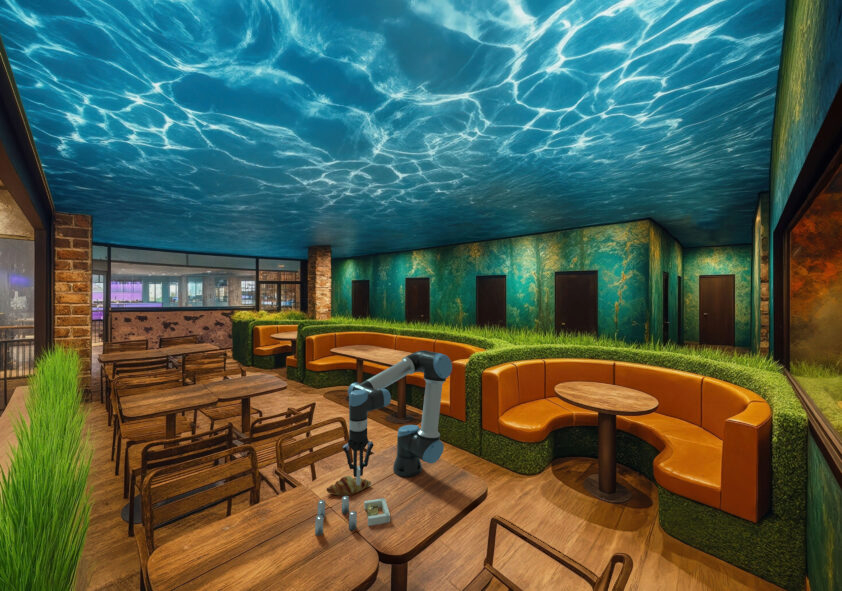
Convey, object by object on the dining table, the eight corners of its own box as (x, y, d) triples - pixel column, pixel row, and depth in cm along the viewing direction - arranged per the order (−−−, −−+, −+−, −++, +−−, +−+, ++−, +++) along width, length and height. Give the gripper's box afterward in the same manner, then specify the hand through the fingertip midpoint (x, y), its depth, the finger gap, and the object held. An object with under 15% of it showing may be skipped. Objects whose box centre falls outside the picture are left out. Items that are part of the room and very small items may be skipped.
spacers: (315, 514, 147) (315, 500, 147) (353, 508, 152) (353, 494, 152) (315, 537, 134) (315, 521, 134) (356, 529, 138) (357, 515, 138)
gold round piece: (366, 513, 149) (366, 504, 149) (376, 511, 150) (377, 503, 150) (368, 520, 144) (368, 511, 144) (378, 518, 146) (379, 509, 146)
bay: (364, 507, 152) (364, 501, 152) (384, 504, 155) (384, 498, 155) (368, 526, 141) (368, 518, 141) (389, 522, 143) (390, 515, 143)
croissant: (368, 490, 172) (367, 472, 175) (374, 490, 163) (372, 471, 167) (325, 498, 163) (324, 479, 166) (328, 499, 155) (328, 479, 158)
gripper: (343, 434, 139) (343, 491, 140) (375, 430, 143) (375, 485, 144) (341, 426, 146) (341, 480, 147) (372, 422, 150) (372, 476, 151)
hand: (358, 483), depth 145 cm, fingers closed
